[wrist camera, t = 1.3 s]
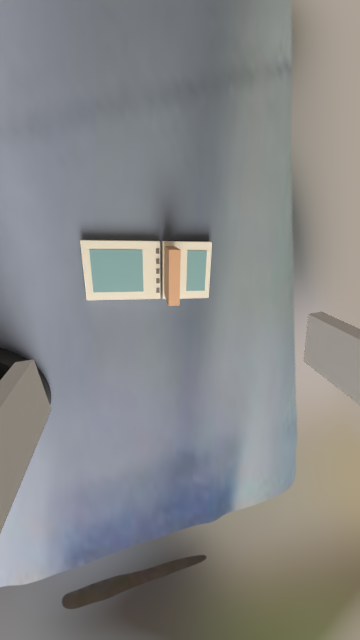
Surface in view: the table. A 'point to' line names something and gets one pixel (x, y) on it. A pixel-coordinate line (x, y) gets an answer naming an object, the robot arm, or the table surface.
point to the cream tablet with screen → (121, 269)
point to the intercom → (185, 270)
